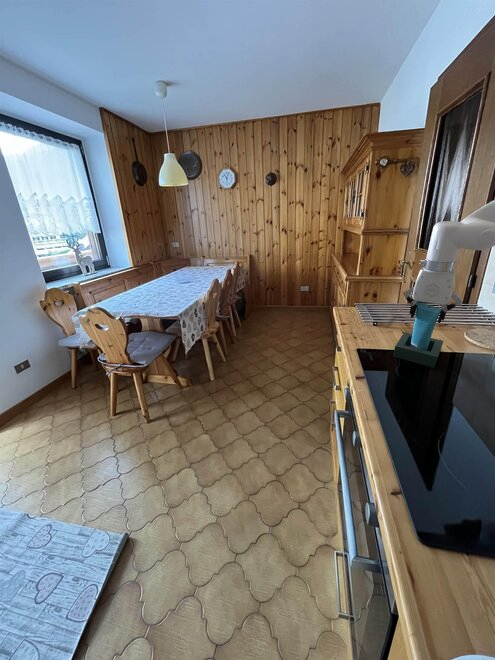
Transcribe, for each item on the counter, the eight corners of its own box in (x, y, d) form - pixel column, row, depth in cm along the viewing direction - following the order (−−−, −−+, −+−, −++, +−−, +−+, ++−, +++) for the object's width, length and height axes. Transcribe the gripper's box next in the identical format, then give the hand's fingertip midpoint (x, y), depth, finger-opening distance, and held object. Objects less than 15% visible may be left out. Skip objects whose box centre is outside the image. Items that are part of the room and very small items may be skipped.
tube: (430, 357, 98) (445, 306, 89) (424, 362, 95) (439, 310, 86) (408, 349, 103) (419, 300, 94) (402, 354, 100) (413, 304, 92)
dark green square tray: (439, 352, 100) (443, 340, 98) (433, 369, 92) (437, 356, 89) (401, 343, 107) (404, 331, 105) (392, 358, 99) (395, 346, 96)
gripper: (404, 265, 87) (394, 317, 95) (474, 272, 77) (456, 329, 85) (410, 259, 92) (399, 309, 100) (476, 265, 82) (459, 320, 90)
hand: (425, 318), depth 93 cm, fingers closed on tube, 7 cm apart
